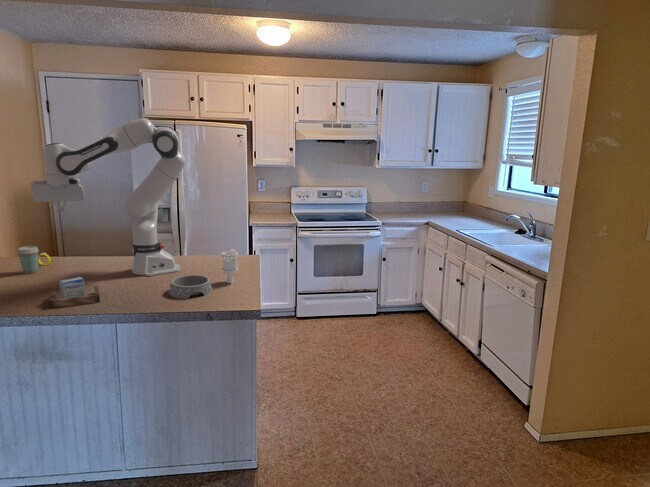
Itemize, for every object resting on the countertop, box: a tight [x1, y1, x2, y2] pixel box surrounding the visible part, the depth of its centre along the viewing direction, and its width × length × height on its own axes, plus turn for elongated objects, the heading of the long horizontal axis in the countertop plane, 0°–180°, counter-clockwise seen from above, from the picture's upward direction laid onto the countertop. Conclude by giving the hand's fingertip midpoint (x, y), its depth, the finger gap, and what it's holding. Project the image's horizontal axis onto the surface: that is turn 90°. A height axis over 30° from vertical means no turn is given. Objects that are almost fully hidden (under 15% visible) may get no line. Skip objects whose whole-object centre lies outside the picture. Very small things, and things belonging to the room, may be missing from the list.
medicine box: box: [58, 276, 86, 299], centre depth 179 cm, size 8×4×9 cm, turn 138°
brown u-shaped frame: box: [49, 285, 101, 310], centre depth 180 cm, size 17×12×3 cm
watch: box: [38, 252, 52, 266], centre depth 226 cm, size 6×3×6 cm, turn 87°
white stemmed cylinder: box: [221, 248, 239, 284], centre depth 205 cm, size 7×7×15 cm
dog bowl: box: [168, 274, 213, 300], centre depth 193 cm, size 17×18×5 cm
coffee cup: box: [17, 245, 40, 275], centre depth 213 cm, size 9×9×12 cm
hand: (61, 211), depth 201 cm, fingers closed
